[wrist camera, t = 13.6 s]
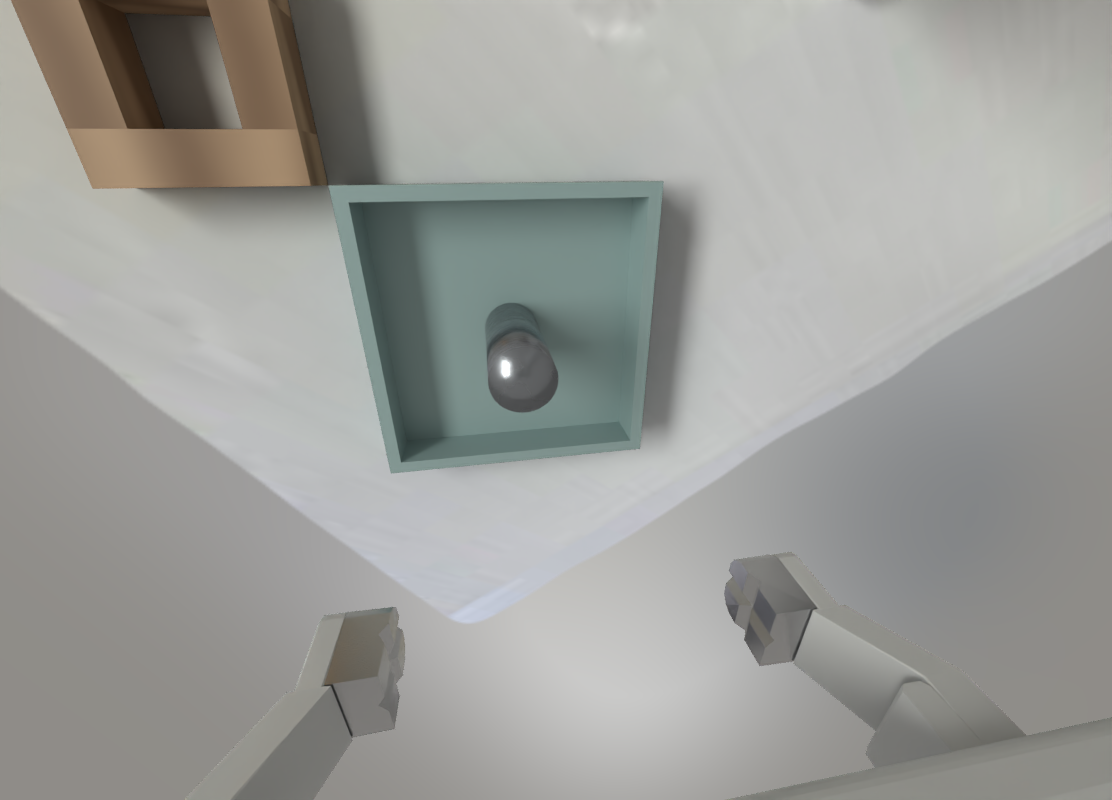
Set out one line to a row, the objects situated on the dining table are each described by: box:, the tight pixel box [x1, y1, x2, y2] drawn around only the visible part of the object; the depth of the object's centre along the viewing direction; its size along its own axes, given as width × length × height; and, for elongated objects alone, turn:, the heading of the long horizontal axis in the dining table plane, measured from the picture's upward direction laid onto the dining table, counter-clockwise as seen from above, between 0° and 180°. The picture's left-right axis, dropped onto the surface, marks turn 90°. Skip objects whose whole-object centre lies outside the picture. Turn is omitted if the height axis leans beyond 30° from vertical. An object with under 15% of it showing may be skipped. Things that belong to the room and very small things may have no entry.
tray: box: [329, 181, 664, 473], centre depth 29 cm, size 18×18×4 cm
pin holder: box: [11, 0, 328, 189], centre depth 21 cm, size 10×10×3 cm
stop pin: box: [485, 303, 559, 413], centre depth 27 cm, size 4×4×9 cm
